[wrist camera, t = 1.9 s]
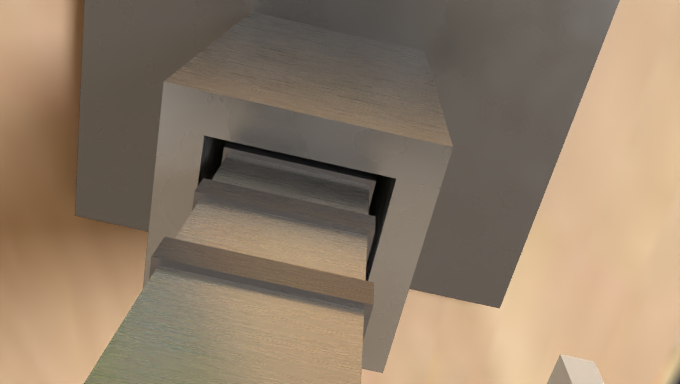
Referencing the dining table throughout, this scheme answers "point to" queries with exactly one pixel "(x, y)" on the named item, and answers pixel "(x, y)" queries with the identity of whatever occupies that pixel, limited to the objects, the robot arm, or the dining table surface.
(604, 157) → the dining table surface
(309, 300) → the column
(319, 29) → the stand
